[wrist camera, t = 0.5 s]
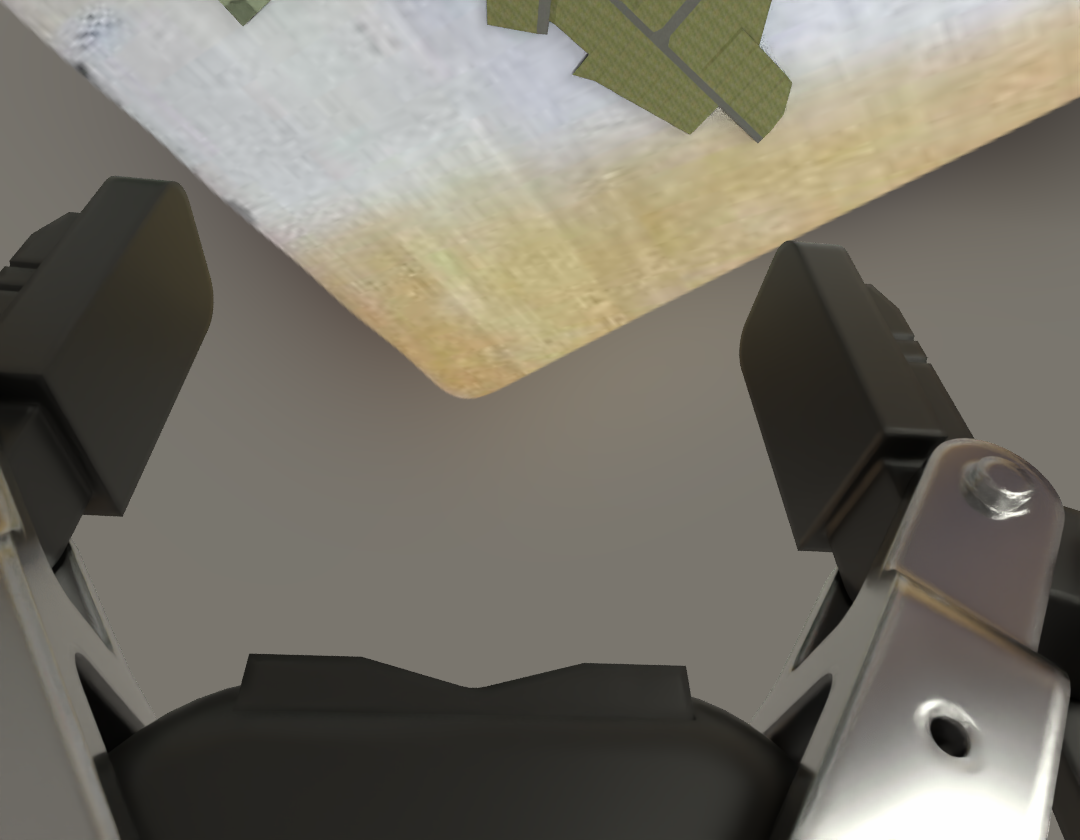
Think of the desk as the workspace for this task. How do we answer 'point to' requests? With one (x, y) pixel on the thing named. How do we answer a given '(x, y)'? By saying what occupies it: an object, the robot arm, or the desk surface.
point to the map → (668, 54)
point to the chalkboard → (244, 8)
